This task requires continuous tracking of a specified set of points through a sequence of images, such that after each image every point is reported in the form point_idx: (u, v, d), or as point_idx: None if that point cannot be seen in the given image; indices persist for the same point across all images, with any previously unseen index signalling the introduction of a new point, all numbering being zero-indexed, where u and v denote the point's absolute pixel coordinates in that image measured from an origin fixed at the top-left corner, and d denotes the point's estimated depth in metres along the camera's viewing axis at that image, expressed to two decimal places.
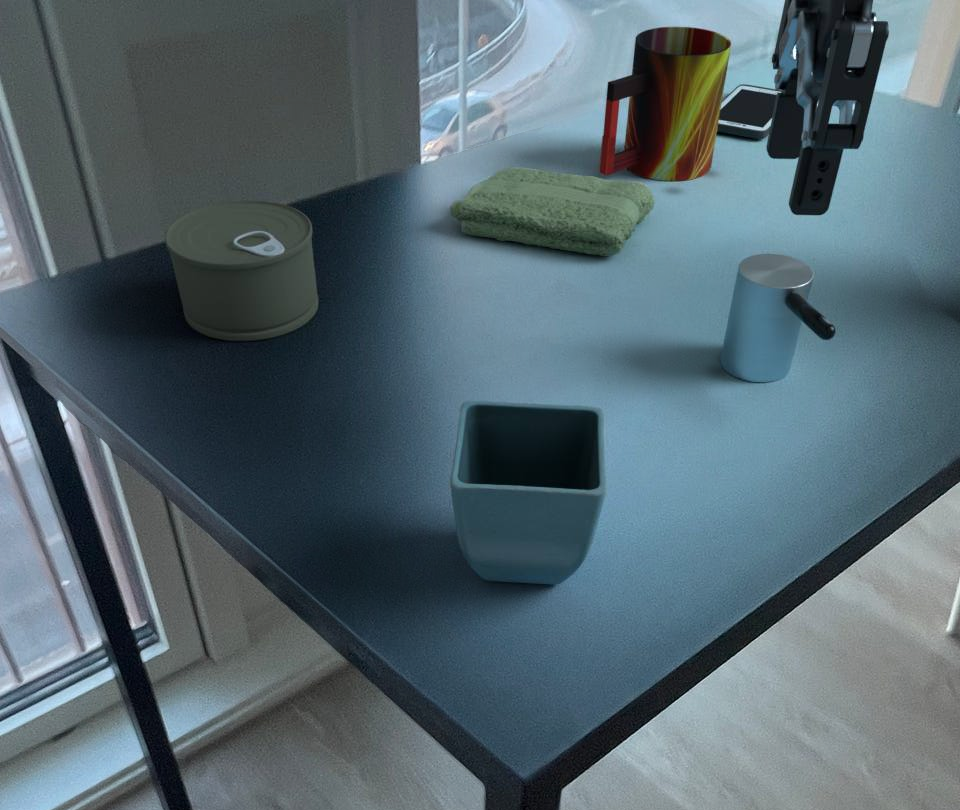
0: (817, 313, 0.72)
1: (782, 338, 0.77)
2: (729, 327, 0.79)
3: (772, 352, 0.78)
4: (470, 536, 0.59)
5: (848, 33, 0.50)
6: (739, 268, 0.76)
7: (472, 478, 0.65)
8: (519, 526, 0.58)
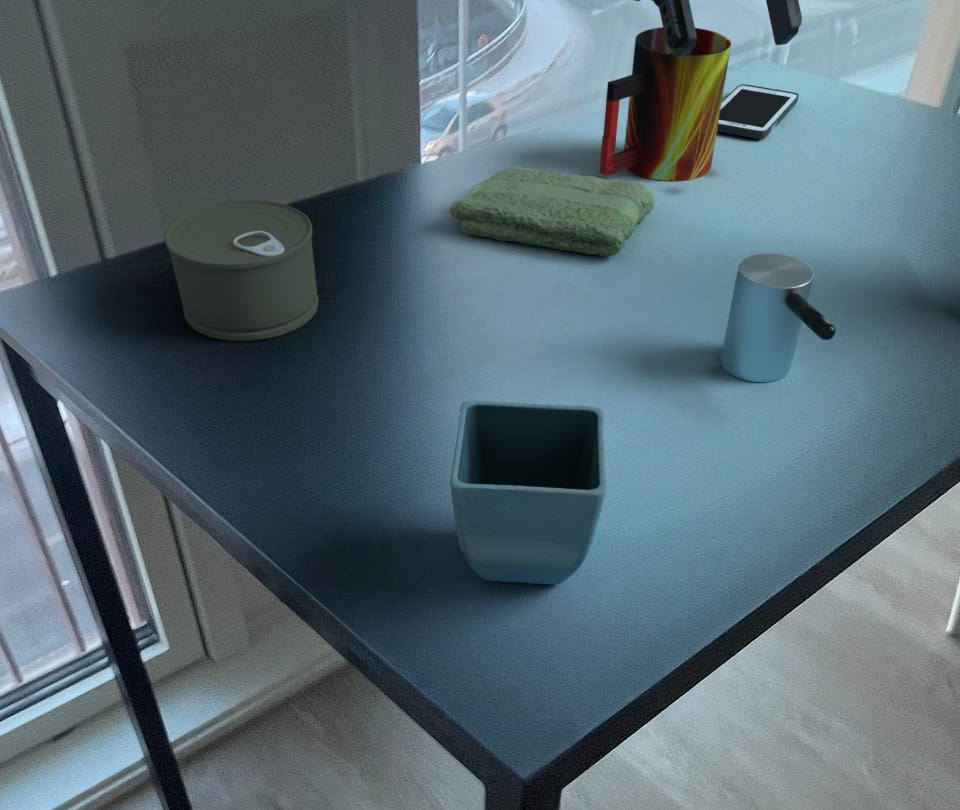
0: (817, 313, 0.72)
1: (782, 338, 0.77)
2: (729, 327, 0.79)
3: (772, 352, 0.78)
4: (470, 536, 0.59)
5: None
6: (739, 268, 0.76)
7: (472, 478, 0.65)
8: (519, 526, 0.58)
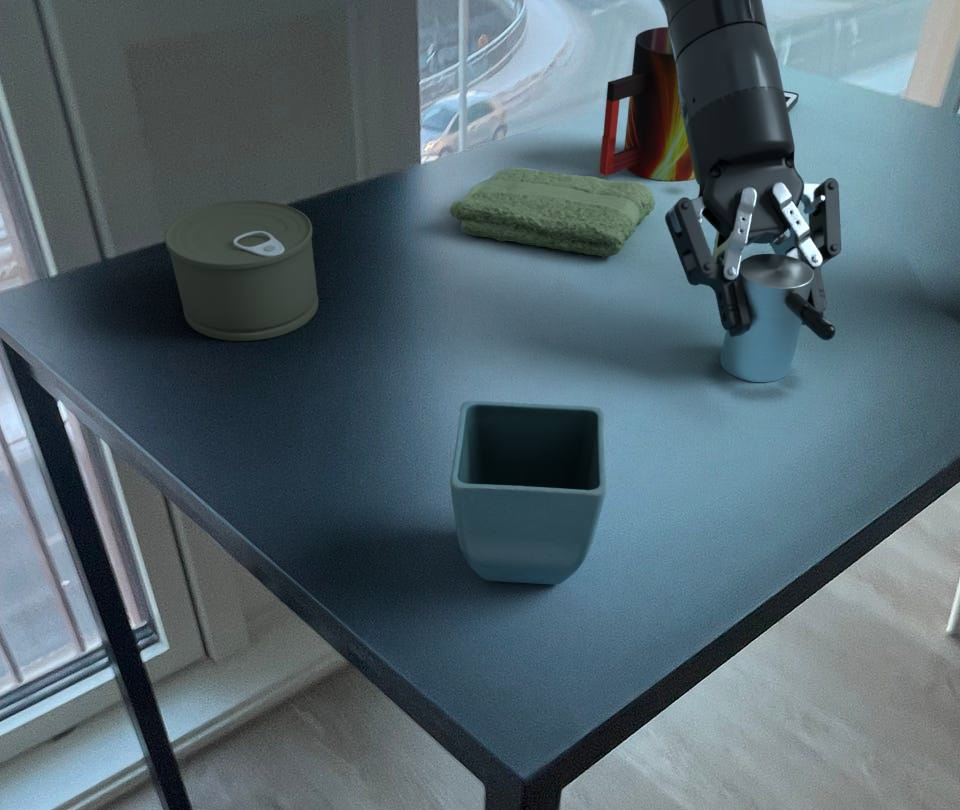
0: (817, 313, 0.72)
1: (782, 338, 0.77)
2: None
3: (772, 353, 0.78)
4: (470, 536, 0.59)
5: (667, 216, 0.77)
6: None
7: (472, 478, 0.65)
8: (519, 526, 0.58)
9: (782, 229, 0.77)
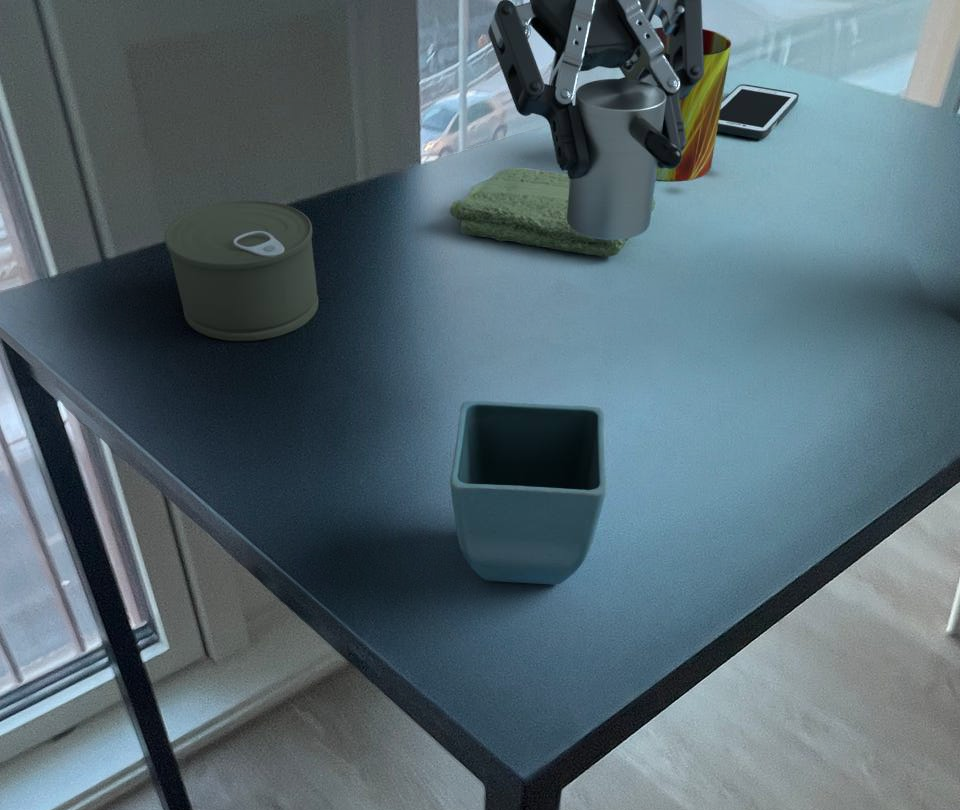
0: (661, 136, 0.59)
1: (631, 180, 0.64)
2: None
3: (620, 199, 0.64)
4: (470, 536, 0.59)
5: (489, 28, 0.63)
6: (576, 92, 0.63)
7: (472, 478, 0.65)
8: (519, 526, 0.58)
9: (630, 45, 0.63)
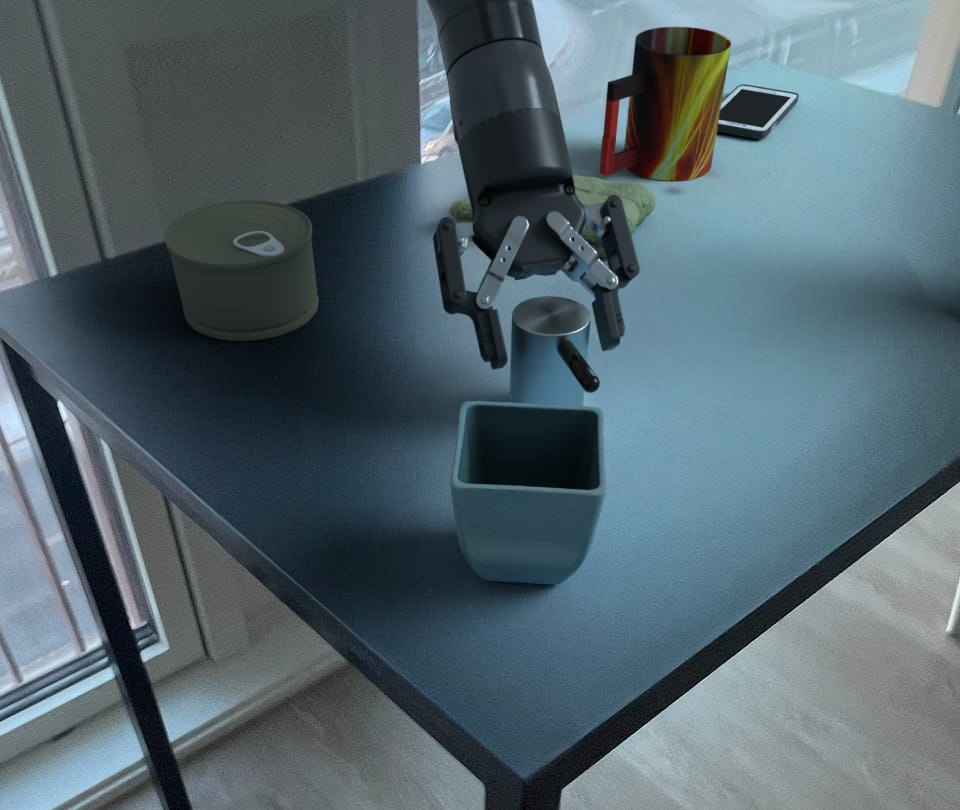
0: (583, 363, 0.68)
1: (561, 386, 0.72)
2: (510, 374, 0.74)
3: (553, 401, 0.73)
4: (470, 536, 0.59)
5: (434, 235, 0.71)
6: (512, 312, 0.72)
7: (472, 478, 0.65)
8: (519, 526, 0.58)
9: (561, 261, 0.71)
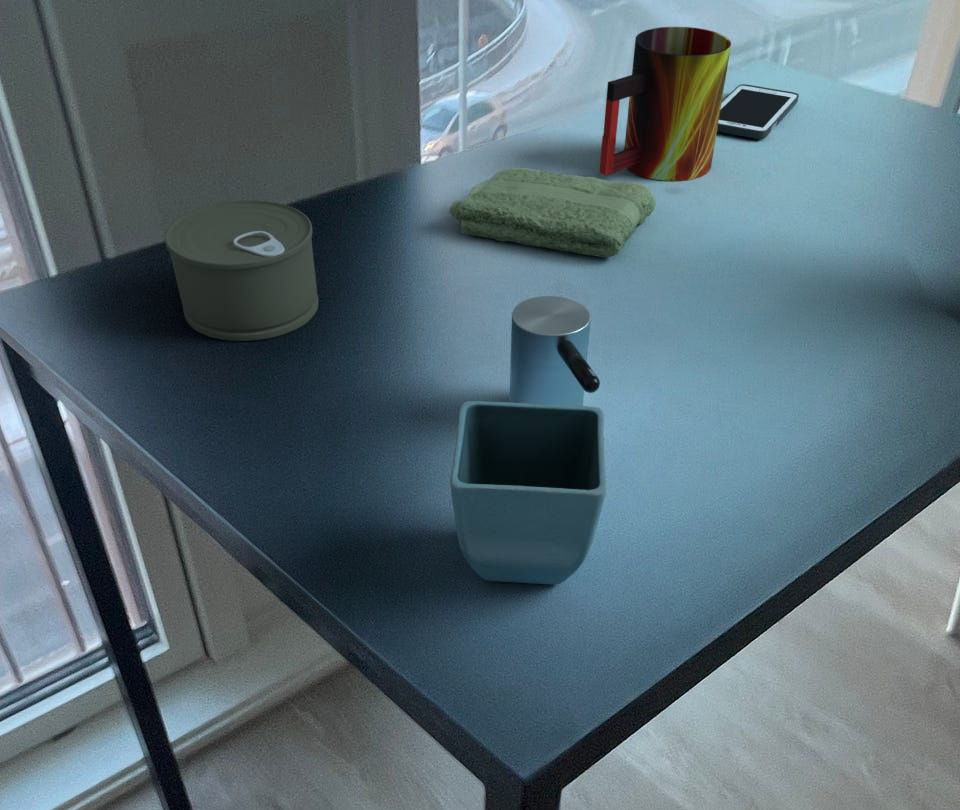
0: (583, 363, 0.68)
1: (561, 386, 0.72)
2: (510, 374, 0.74)
3: (553, 401, 0.73)
4: (470, 536, 0.59)
5: None
6: (512, 312, 0.72)
7: (472, 478, 0.65)
8: (519, 526, 0.58)
9: None
